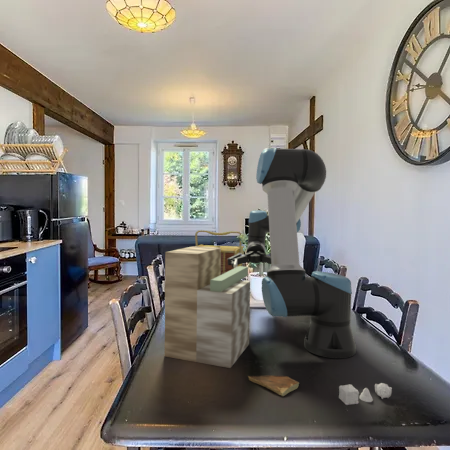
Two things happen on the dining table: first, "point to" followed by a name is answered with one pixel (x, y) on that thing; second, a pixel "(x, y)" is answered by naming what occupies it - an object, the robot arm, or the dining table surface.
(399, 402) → the dining table surface
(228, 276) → the green block
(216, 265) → the stand
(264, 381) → the shard
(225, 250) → the picnic basket
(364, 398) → the game pieces
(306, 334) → the robot arm
